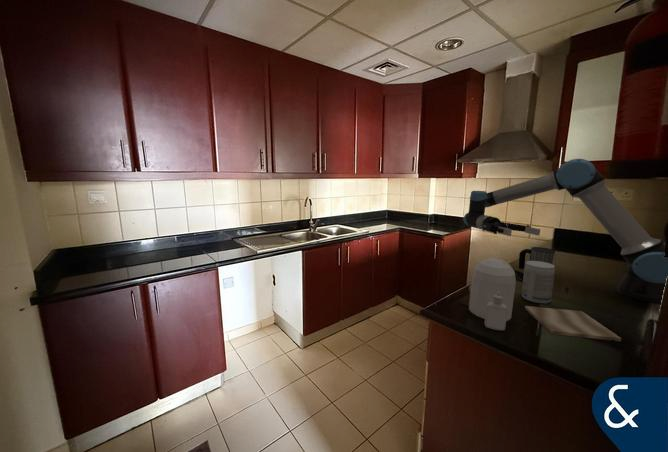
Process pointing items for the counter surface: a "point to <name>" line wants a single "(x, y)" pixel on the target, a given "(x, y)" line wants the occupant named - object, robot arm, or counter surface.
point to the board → (571, 323)
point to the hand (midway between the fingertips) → (525, 232)
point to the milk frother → (534, 257)
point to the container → (491, 285)
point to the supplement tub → (538, 281)
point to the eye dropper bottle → (496, 313)
